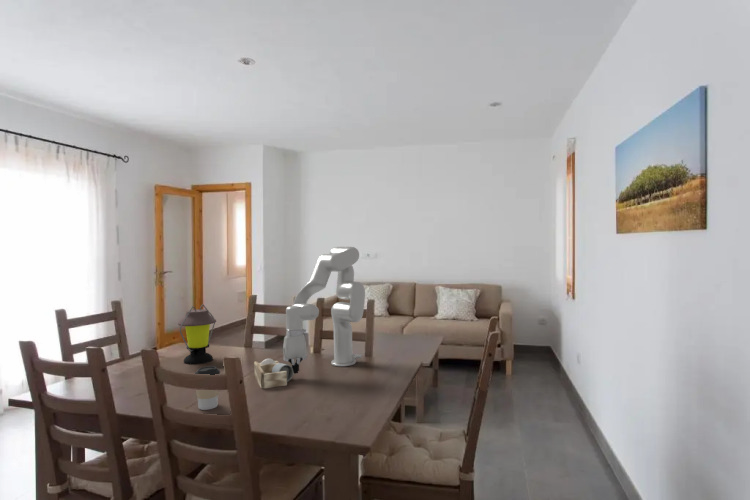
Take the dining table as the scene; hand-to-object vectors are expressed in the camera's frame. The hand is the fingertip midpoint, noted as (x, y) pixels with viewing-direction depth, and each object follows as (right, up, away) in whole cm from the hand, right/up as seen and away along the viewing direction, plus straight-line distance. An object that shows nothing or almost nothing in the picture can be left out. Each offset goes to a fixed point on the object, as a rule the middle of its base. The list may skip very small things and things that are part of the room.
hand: (295, 372), depth 204 cm
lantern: (-59, -4, +36) cm, 69 cm away
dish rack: (-11, -3, -3) cm, 12 cm away
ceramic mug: (-7, -3, -3) cm, 8 cm away
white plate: (-14, -3, +4) cm, 15 cm away
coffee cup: (-27, -4, -34) cm, 44 cm away
